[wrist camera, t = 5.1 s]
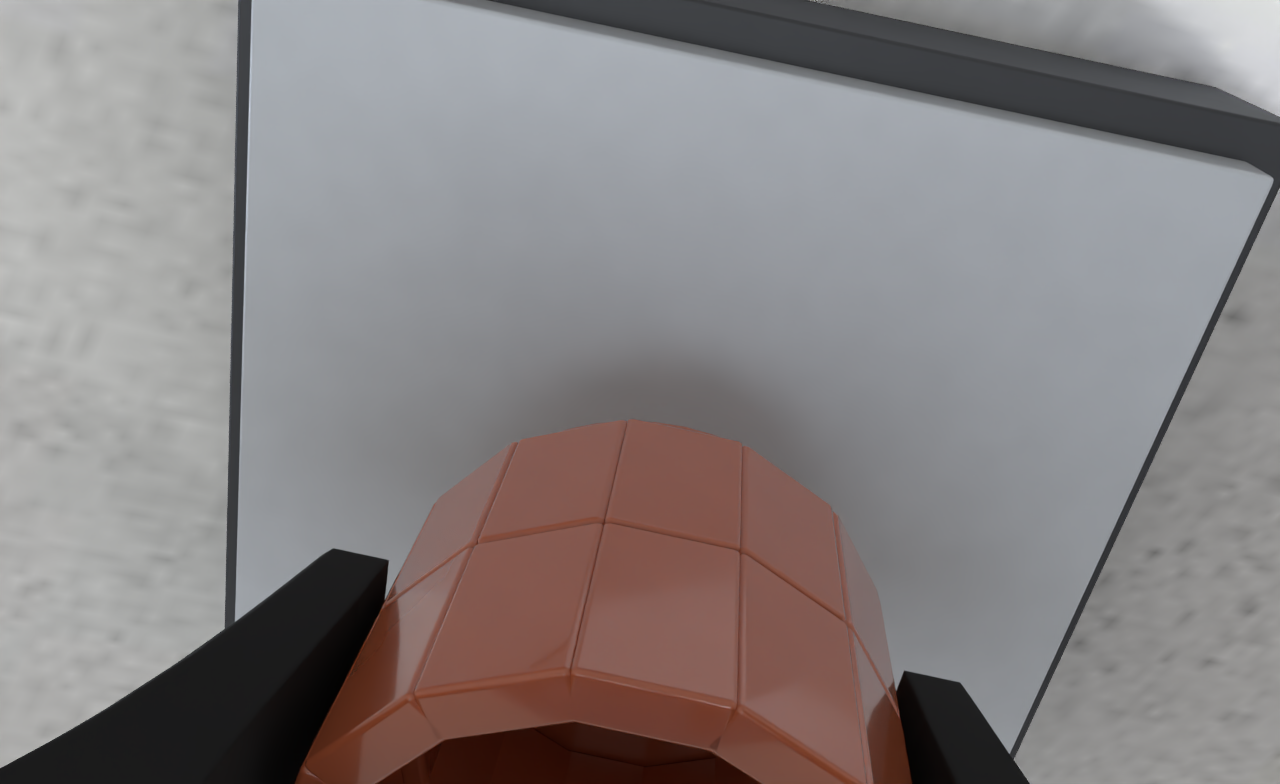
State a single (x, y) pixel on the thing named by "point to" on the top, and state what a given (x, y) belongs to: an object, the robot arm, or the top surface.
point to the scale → (729, 282)
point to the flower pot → (622, 629)
